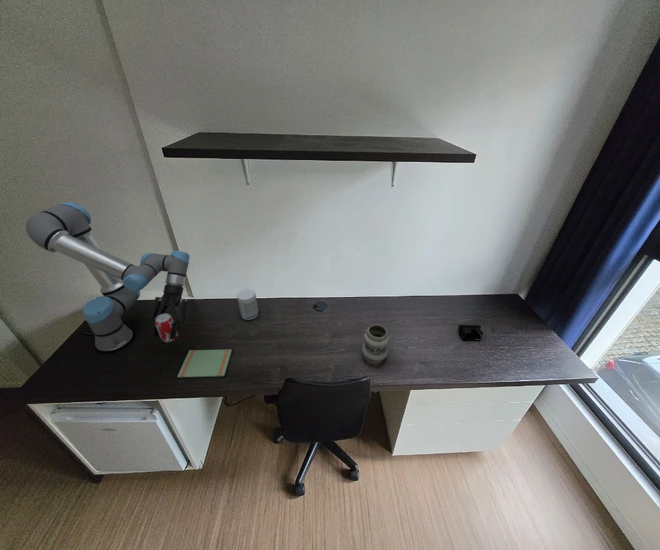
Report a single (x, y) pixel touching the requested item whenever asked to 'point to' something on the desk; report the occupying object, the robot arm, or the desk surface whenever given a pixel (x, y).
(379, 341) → the apothecary jar
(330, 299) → the desk surface
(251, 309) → the supplement tub
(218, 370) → the towel
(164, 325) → the soda can
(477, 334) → the end cap
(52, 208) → the robot arm
